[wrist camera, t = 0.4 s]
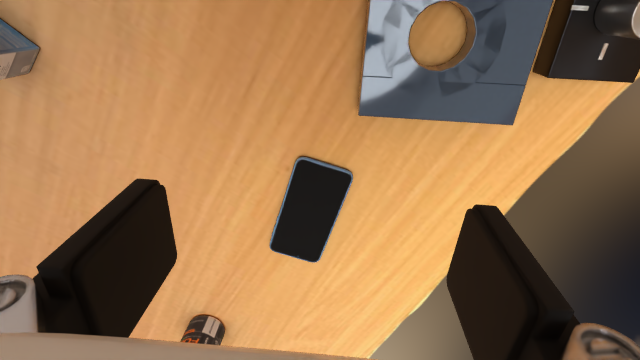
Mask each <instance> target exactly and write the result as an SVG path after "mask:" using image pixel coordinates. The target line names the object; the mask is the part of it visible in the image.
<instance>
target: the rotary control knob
mask: <svg viewBox="0 0 640 360" xmlns="http://www.w3.org/2000/svg"><path fill="white" fill-rule="evenodd" d="M594 19H595V25H596V27H597V29H598V30H599V31H600V32H602V33H604V34H606V35H613V36H620V37H627V38H634V39H640V0H601V1H600V3H599V4H598V6H597V8H596V11H595V18H594Z"/></svg>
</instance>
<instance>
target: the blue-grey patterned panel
mask: <svg viewBox="0 0 640 360" xmlns="http://www.w3.org/2000/svg"><path fill="white" fill-rule="evenodd" d="M440 1H449V2H450V3H452V4H454V5H456V6H458V7H459V8H460V10H461V11H462V13H463V14H464V16H465V17H466V23H467V35H466V39H465V43H464V45H463V46H462V48H461V49H460V51H459V53H458V54H457V55H456V56H455V57H453V58H452V59H451V60H450V61H448V62H447V63H444V64H441V65H438V66H423V65H422V64H420V63H418V62H416V61H415V59H414V58H413V57H412V55H411V52H410V48H409V43H408V41H409V35H410V28H411V27H412V25H413V23H414V21H415V19H416V18H417V16H418V15H419V14H420V13H421V12H422V11H423V10H424V9H426V8H427V7H428V6H430V5H432V4H435V3H438V2H440ZM552 2H553V0H368V8H367V18H366V28H365V38H364V48H363V58H362V69H361V79H360V89H359V99H358V115H359V116H374V117H390V118H406V119H422V120H438V121H454V122H470V123H486V124H502V125H513V123H514V120H515V117H516V114H517V111H518V108H519V105H520V102H521V98H522V95H523V92H524V89H525V85H526V82H527V79H528V76H529V73H530V70H531V67H532V64H533V61H534V58H535V55H536V51H537V48H538V45H539V42H540V39H541V36H542V33H543V30H544V27H545V24H546V20H547V17H548V14H549V11H550V8H551V5H552Z"/></svg>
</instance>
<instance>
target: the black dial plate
mask: <svg viewBox="0 0 640 360" xmlns="http://www.w3.org/2000/svg"><path fill="white" fill-rule="evenodd" d="M600 1H601V0H556V2H555V5H554V8H553V11H552V14H551V17H550V20H549V23H548V27H547V30H546V33H545V36H544V39H543V42H542V45H541V48H540V51H539V54H538V57H537V60H536V63H535V66H534V69H533V72H535V73H537V74H540V75H542V76H545V77H547V78H560V79H578V80H595V81H612V82H630V83H633V82H634V80H635V78H636V76H637V74H638V72H639V69H640V39H634V38H627V37H620V36H613V35H606V34H604V33H602V32H600V31H599V30H598V29H597V27H596V25H595V19H594V18H595V11H596V8H597V6H598V4H599V3H600Z"/></svg>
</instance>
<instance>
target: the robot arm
mask: <svg viewBox="0 0 640 360" xmlns="http://www.w3.org/2000/svg"><path fill="white" fill-rule="evenodd" d="M176 259H177V250H176V245H175V239H174V234H173V228H172V223H171V217H170V211H169V206H168V200H167V195H166V190H165V187H164V186H163V185H160V183H159V181H157V180H149V179H136V180H135V181H134V182H132V183H131V184H130V185H129V186H128V187H127V188H126V189H124V190H123V191H122V192H121V193H120V194H119V195H118V196H116V197H115V198H114V199H113V200H112V201H111V202H110V203H108V204H107V205H106V206H105V207H104V208H103V209H102V210H100V211H99V212H98V213H97V214H96V215H95V216H94V217H92V218H91V219H90V220H89V221H88V222H87V223H86V224H84V225H83V226H82V227H81V228H80V229H79V230H78V231H77V232H75V233H74V234H73V235H72V236H71V237H70V238H69V239H67V240H66V241H65V242H64V243H63V244H62V245H61V246H59V247H58V248H57V249H56V250H55V251H54V252H53V253H51V254H50V255H49V256H48V257H47V258H46V259H45V260H43V261H42V262H41V263H40V264H39V265H38V266H37V269H38V271H39V273H38V274H37V275H36V276H35V277H34V278H33V279H32V278H30V277H28V276H25V275H7V276H3V277H0V360H377V359H366V358H356V357H345V356H334V355H323V354H312V353H301V352H290V351H278V350H267V349H256V348H244V347H233V346H221V345H209V344H197V343H185V342H173V341H161V340H149V339H137V338H128V337H129V336H130V334H131V333H132V331H133V329H134V328H135V326H136V325H137V323H138V321H139V320H140V318H141V317H142V315H143V314H144V312H145V310H146V309H147V307H148V306H149V304H150V302H151V301H152V299H153V298H154V296H155V295H156V293H157V291H158V290H159V288H160V287H161V285H162V283H163V282H164V280H165V279H166V277H167V276H168V274H169V272H170V271H171V269H172V268H173V266H174V264H175V262H176ZM447 287H448V290H449V292H450V295H451V298H452V301H453V303H454V306H455V309H456V312H457V314H458V317H459V320H460V323H461V326H462V328H463V331H464V334H465V337H466V339H467V342H468V345H469V348H470V350H471V353H472V356H473V359H474V360H640V347H639V346H638V345H637V344H636V343H634V342H633V341H632V340H631V339H629V338H628V337H626V336H624V335H623V334H621V333H619V332H617V331H615V330H612V329H610V328H608V327H606V326H602V325H598V324H594V323H582V324H580V323H579V322H578V320H577V319H576V317H575V316H574V315H573V314H574V310H573V309H572V308H571V307H570V305H569V304H568V302H567V301H566V300H565V298H564V297H563V296H562V294H561V293H560V291H559V290H558V289H557V287H556V286H555V285H554V283H553V282H552V281H551V279H550V278H549V277H548V275H547V274H546V272H545V271H544V270H543V268H542V267H541V266H540V264H539V263H538V262H537V260H536V259H535V258H534V256H533V255H532V253H531V252H530V251H529V249H528V248H527V247H526V245H525V244H524V243H523V241H522V240H521V239H520V237H519V236H518V235H517V233H516V232H515V231H514V229H513V228H512V226H511V225H510V224H509V222H508V221H507V220H506V218H505V217H504V215H503V214H502V213H501V211H500V210H499V209H498V208H497V207H496V206H489V205H474V207H473V208H472V209H468V210H467V212H466V214H465V218H464V221H463V224H462V227H461V231H460V234H459V237H458V241H457V244H456V247H455V251H454V254H453V257H452V261H451V264H450V267H449V271H448V274H447Z"/></svg>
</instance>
